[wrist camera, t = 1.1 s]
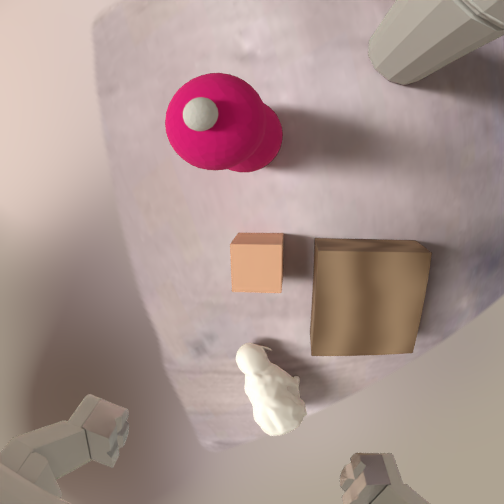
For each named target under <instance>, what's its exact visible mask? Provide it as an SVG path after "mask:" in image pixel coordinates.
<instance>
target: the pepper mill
mask: <svg viewBox="0 0 504 504" xmlns="http://www.w3.org/2000/svg"><path fill="white" fill-rule="evenodd" d="M165 125H166V133H167V136H168V139H169V142H170V144H171V145H172V147H173V148H174V150H175V151H176V153H177V154H178V155H179V156H180V157H181V158H183V159H184V160H185V161H186V162H188V163H190V164H191V165H193V166H196V167H198V168H202V169H207V170H224V169H229V170H232V171H237V172H252V171H256V170H259V169H261V168H263V167H265V166H266V165H268V164H269V163H270V162H271V161H272V160H273V159H274V158H275V156H276V155H277V153H278V151H279V149H280V147H281V143H282V136H283V134H282V127H281V123H280V121H279V119H278V117H277V115H276V114H275V112H274V111H273V110H272V109H271V108H270V107H268V106H267V105H266V104H264V103H263V102H262V100H261V98H260V96H259V94H258V93H257V92H256V91H255V90H254V89H253V88H252V87H251V86H250V85H249V84H248V83H247V82H245V81H244V80H242V79H240V78H238V77H236V76H232V75H229V74H223V73H210V74H205V75H201V76H199V77H196V78H194V79H192V80H190V81H189V82H187V83H186V84H184V85H183V86H182V87H181V88H180V89H179V90H178V91H177V92H176V93H175V95H174V96H173V98H172V100H171V102H170V103H169V106H168V109H167V112H166V120H165Z"/></svg>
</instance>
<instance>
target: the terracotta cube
mask: <svg viewBox="0 0 504 504" xmlns="http://www.w3.org/2000/svg"><path fill="white" fill-rule="evenodd" d="M230 253H231V277H232V292H259V293H281V291H282V280H283V233H238V234H237V235H236V237H235V238H234V240H233V241H232V242H231V244H230Z"/></svg>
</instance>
